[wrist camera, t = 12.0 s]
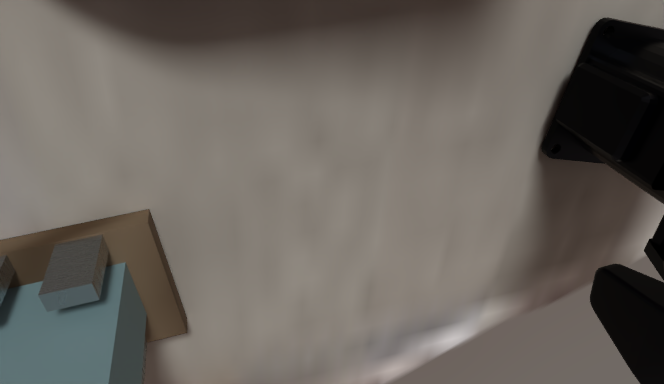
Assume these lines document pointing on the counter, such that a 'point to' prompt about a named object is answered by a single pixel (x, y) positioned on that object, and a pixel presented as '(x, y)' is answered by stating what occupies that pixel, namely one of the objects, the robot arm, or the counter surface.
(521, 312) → the counter surface
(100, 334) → the door
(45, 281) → the brown base with posts
